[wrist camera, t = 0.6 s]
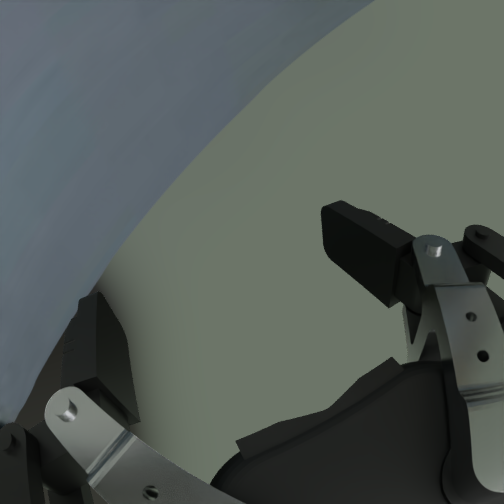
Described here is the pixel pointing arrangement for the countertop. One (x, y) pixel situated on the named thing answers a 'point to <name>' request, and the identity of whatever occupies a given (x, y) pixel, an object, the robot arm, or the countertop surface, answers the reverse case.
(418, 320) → the robot arm
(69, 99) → the countertop surface
